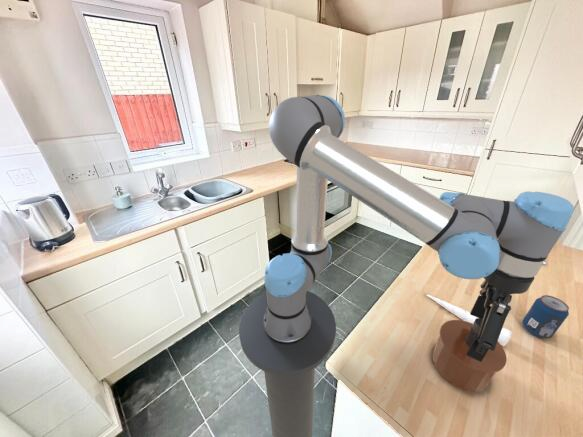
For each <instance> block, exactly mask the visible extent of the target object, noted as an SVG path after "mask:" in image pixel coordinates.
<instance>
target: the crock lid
mask: <svg viewBox="0 0 583 437" xmlns="http://www.w3.org/2000/svg"><path fill="white" fill-rule="evenodd" d="M482 321H483V319H480V318H477V319H475V321H474V323H473V324H472V323H470V322H466V321H463V320H462V319H451V320H448V321H445V322H444V323H443V324H442V325H441V326H440V329H439V336H440V338H441V341H442V343H443V345H444V347H445V348H446V349H447V351H448V352H449V353H450V354H451V355H452V356H453V357H454V358H455V359H457V360H458V361H459V362H461V363H462V364H464V365H466V366H468V367H469V368H472V369H474V370H477V371H480V372H485V373H495V372H496V373H498V372H500V371H502V370H503V369H504V368H505V366H506V365H507V361H508V360H507V354H506V351H505V349H504V346H502V345H501V344H500V343H499V342H498V341H497V344H496V346H495V350H494V351H492V350H490V349H489V350H488V351H487V353H486V355H485V356H484V358H483V360H482V361H481V362H480V361H478V360H476V359H474V358H471V357H469V356H467V351H468V350H469V348H470V346H471V344H472V342H473V340H474V338H473V335H475V336H476V334H477V335H478V334H479V331H480V328H481V324H482ZM496 373H495V374H496Z"/></svg>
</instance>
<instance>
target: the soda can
mask: <svg viewBox="0 0 583 437" xmlns="http://www.w3.org/2000/svg"><path fill="white" fill-rule="evenodd" d="M569 310H570V307H569V306H568V304H567V303H566V302H565V301H563V300H561V299H560V298H558V297H555V296H552V295H549V294H548V295H547V294H543V295H541V297H540V296H539V297H538V298H536V299H534V302H533V303H532V305H531V306H530V308H529V310H528V311H527V313H526V314H525V316H524V317H523V319H522V321H521V323H522V326H523V328H524V330H525V332H527V333H528V334H530V335H531V336H533V337H535V338H539V339H541V340H542V339H551V338H553V336H554V335H555V334H556V333H557V331H558V330H559V329H560V327H561V326H562V325H563V323H564V322H565V321H566V319H567V318H568V316H570V314H569Z"/></svg>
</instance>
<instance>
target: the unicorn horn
mask: <svg viewBox="0 0 583 437" xmlns="http://www.w3.org/2000/svg"><path fill="white" fill-rule="evenodd" d="M426 296H427V297H428V298H429V299H430V300H432V301H433V302H435V303H436V304H438V305H439V306H441V307H442V308H444V309H445V310H447V311H448V312H449V313H451V314H453V315H455V317H457V318H459V320H462V321H466V322H470V323H472V324H473V323H474V321H475V319H477V318H478V317H475V316H473V315H470V312H471V311H470V312H469V311H468V310H465V309H464V308H461V307H459V306H457V305H454V304H452V303H450V302H448V301H445V300H442V299H441V298H438V297H435V296H433V295H431V294H426ZM512 335H513V333H512V331H511V330H509V329H507V328H506V327H503V328H502V330H501V333H500V336H499V338H498V342H499V343H500V344H501V346H502V347H505V346H507V345H508V343H509V342H510V340H511V337H512Z"/></svg>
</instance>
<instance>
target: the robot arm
mask: <svg viewBox="0 0 583 437" xmlns="http://www.w3.org/2000/svg"><path fill="white" fill-rule="evenodd" d="M345 125H346V116H345V112H344V109H343V107H342V105H340V103H339V102H338V101H337V100H336V99H334V98H332V97H331V96H328V95H321V94H313V95H312V94H311V95H305V96H293V97H289V98H286V99H284V100H282V101H281V102H279V103H278V104H277V105H276V106H275V108H274V109H273V111H272V113H271V115H270V118H269V122H268V131H269V137H270V140H271V142H272V144H273V145H274V147H275V148H276V150H277V151H278V152H279V153H280V154H281V156H282V157H284V158H285V159H286V160H288V161H289V162H290V163H291V164H292V165H294V166H296V204H295V206H296V207H295V209H296V211H295V212H296V213H295V215H296V216H295V218H296V219H295V220H296V221H295V223H296V224H295V233H294V234H293V235H292V236H291V241H290V242H291V244H290V247H291V248H290V252H289V253H288V252H287V253H282V255H281V254H278V255H276V256H275V257H273V258H272V259H270V260H269V261H268V263H267V265H266V267H265V270H264V285H265V293H266V295H267V304H268V306H267V309H266V312H265V315H264V320H263V323H264V330H265V332H266V334H267V335H268V337H269V338H270V339H272V340H273V341H275V342H277V343H280V344H293V343H297V342H299V341H301V340H302V339H304V338H305V337H306V336H307V334H308V333H309V331H310V329H311V318H312V317H311V314H310V312H309V310H308V308H307V305H306V292H307V291H309V289H310V288H311V287H312V285H313V284H314V282H315V281H316V280H317V279H318V278H319V277H320V275H321V273H322V272H323V271H324V270H325V269H326V268H327V267H328V265H329V264H330V261H331V259H332V257H333V256H332V255H333V248H332V246H331V244H329V239H328V237H327V235H326V234H325V223H326V211H327V210H326V208H327V197H328V184H329V182H330V183H332V184H333V185H335V186H337V187H338V188H339V189H341V190H342V191H344V192H346V193H347V194H349V195H350V196H352V197H353V198H355V199H356V200H358V201H359V202H361V203H362V204H364V205H366V206H367V207H369V208H370V209H372V210H373V211H375V212H376V213H378V214H379V215H381V216H383V217H384V218H385V219H387V220H389V221H390V222H392V223H393V224H395V225H397V226H398V227H399V228H401V229H402V230H404V231H406V232H407V233H408V234H411V235H412V236H413V237H414V238H417V239H418V240H419V241H421V242H422V243H424V244H425V245H427V246H428V247H429V248H431V249H433V250H434V251H436V252H437V253H438V258H439V262H440V264H441V266H442V268H444V270H445V271H447V273H449V274H450V275H453V276H455V277H456V278H459V279H463V280H480V279H484V280H483V281H482V283H481V285H480V290H479V294H478V296H477V298H476V300H475V302H474V304H473V306H472V308H471V311H470V315H473V316H475V317H478V318H480V319H483V321H482V324H481V328H480V331H479V334H478V335H477V334H476V336H475V335H473V338H474V340H473V342H472V344H471V346H470V348H469V350H468V351H467V356H469V357H471V358H474V359H476V360H478V361H480V362H481V361H482V360H483V358H484V356H485V355H486V353H487V351H488V350H489V349H490V350H492V351H494V350H495V346H496V344H497V341H498V338H499V336H500V333H501V330H502V328H504V325H505V323H506V319H507V317H508V315H509V313H510V311H511V310H512V306H511V305H509V304H510V303H511V302H512V298H513V295H519V294H520V295H521V294H524V293H526V292H528V290H529V289H530V287H531V285H532V284H533V283H534V280H535V277H536V276H537V275H538V273H539V271H540V270H541V267H542V266H544V267H546V266H547V265H548V261H547V258H548V256H549V254H550V253H551V252H552V250H553V248H554V247H555V245H556V244H557V242H558V240H559V239H560V238H561V237H562V234H563V233H564V232H565V231H566V230H567V227H568V224H569V223H570V221H571V218H572V216H573V213H574V211H575V207H574V205H573V203H571V201H570V200H568V199H566V198H564V197H562V196H560V195H557V194H553V193H549V192H548V193H547V192H542V191H523V192H520V193H519V194H518V195H517V197H516V198H515V199H514V200H513V201H512V200H502V199H498V198H497V199H496V198H491V197H484V196H478V195H474V194H467V193H464V192H451V191H445V192H444V191H443V192H442V193H441V194H440V195H439V197H438V196H436V195H434V194H432V193H431V192H429V191H427V190H426V189H424V188H422V187H421V186H419V185H418V184H416V183H414V182H413V181H411V180H409V179H407V178H405V177H404V176H402V175H401V174H399V173H397V172H396V171H393V170H392V169H391V168H389V167H387V166H386V165H384V164H382V163H380V162H378V161H377V160H375V159H374V158H372V157H370V156H368V155H367V154H365V153H364V152H362V151H360V150H358V149H357V148H355V147H353V146H352V145H350V144H348V143H347V142H345V141H344V140H342V139H340V136H341V135H342V133H343V132H344V130H345Z"/></svg>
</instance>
